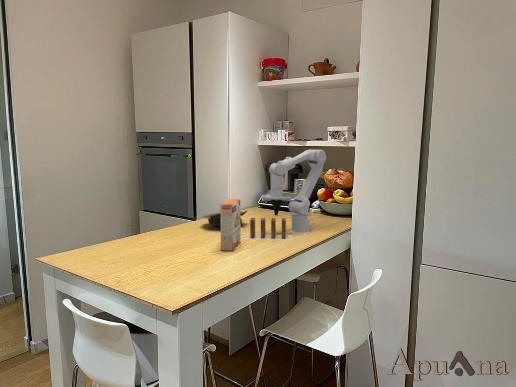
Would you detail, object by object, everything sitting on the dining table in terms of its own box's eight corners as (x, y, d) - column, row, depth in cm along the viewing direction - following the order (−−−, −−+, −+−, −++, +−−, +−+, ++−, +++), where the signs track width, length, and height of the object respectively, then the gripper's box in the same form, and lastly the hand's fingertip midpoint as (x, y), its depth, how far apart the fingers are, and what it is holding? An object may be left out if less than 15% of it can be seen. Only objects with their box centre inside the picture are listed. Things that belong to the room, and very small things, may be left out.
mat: (292, 236, 193) (292, 235, 193) (291, 241, 185) (291, 240, 184) (246, 235, 196) (246, 234, 196) (243, 240, 187) (243, 239, 187)
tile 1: (285, 236, 192) (285, 218, 190) (285, 239, 187) (285, 220, 185) (282, 236, 192) (282, 218, 190) (281, 238, 187) (281, 220, 186)
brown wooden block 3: (275, 236, 192) (275, 218, 191) (275, 238, 187) (274, 220, 186) (271, 236, 192) (271, 218, 191) (271, 238, 187) (271, 220, 186)
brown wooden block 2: (265, 236, 193) (265, 218, 191) (264, 238, 188) (264, 220, 186) (261, 235, 193) (261, 218, 192) (260, 238, 188) (260, 220, 187)
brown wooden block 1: (255, 235, 193) (255, 217, 192) (254, 238, 188) (253, 220, 187) (251, 235, 193) (251, 217, 192) (250, 238, 189) (250, 220, 187)
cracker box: (233, 251, 170) (232, 204, 166) (220, 251, 171) (219, 203, 168) (241, 242, 183) (240, 198, 180) (229, 242, 184) (228, 198, 181)
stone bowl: (243, 232, 202) (241, 214, 201) (197, 234, 207) (195, 217, 205) (251, 220, 226) (250, 205, 225) (210, 223, 231) (208, 207, 229)
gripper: (290, 187, 197) (289, 213, 198) (261, 186, 196) (260, 213, 198) (292, 188, 190) (291, 216, 191) (262, 188, 189) (261, 216, 191)
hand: (276, 215), depth 194 cm, fingers closed
